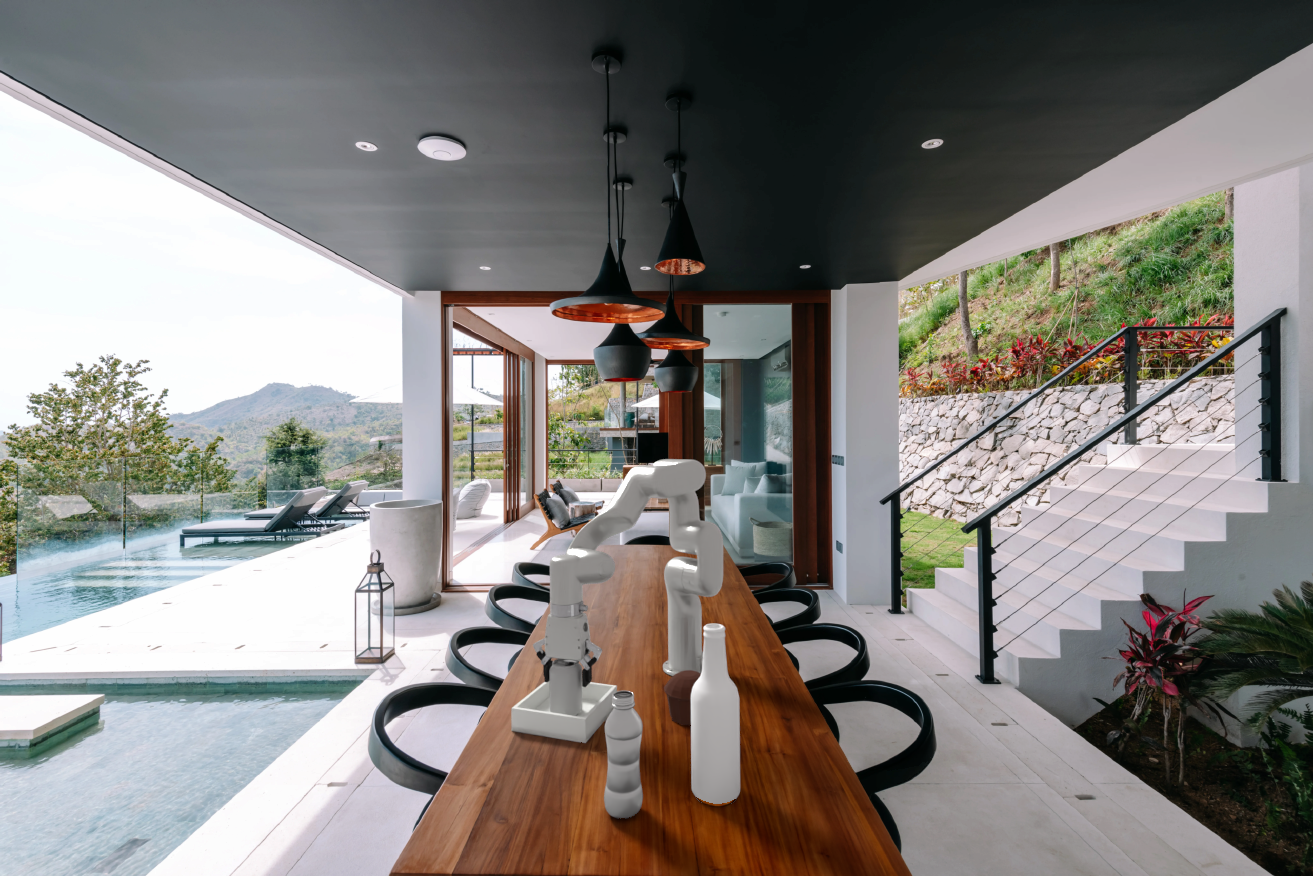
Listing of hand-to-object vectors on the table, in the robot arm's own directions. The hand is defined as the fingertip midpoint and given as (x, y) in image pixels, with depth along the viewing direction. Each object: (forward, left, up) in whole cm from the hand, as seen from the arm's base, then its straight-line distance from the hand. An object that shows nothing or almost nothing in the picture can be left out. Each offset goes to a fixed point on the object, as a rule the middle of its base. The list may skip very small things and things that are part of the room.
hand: (567, 682), depth 132 cm
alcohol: (-39, +18, -8) cm, 44 cm away
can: (0, 0, -7) cm, 7 cm away
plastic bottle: (-25, +28, -8) cm, 39 cm away
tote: (0, 0, -8) cm, 8 cm away
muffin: (-27, -9, -8) cm, 29 cm away
